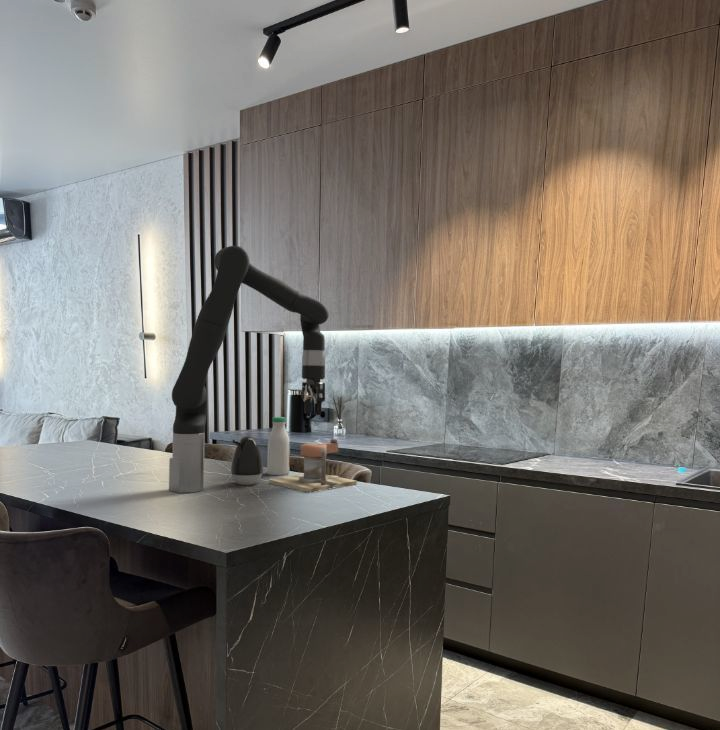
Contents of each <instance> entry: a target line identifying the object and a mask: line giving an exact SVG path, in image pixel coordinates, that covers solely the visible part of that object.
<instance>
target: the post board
mask: <svg viewBox="0 0 720 730" xmlns="http://www.w3.org/2000/svg"><path fill="white" fill-rule="evenodd" d="M326 470H327V455H326V448H322V457H306V456H303V474H299V475H289V476H284V477H277V478H270V479H268V483H269V484H271V485H276V486H279V487H283V488H288V489H291V490H292V489H293V490H297V491H301V492H305V491H306V493H309V492H311V493H315V492H314V491H317V492H320V491H319V490H323V491H325V490H324V489H328V490H330V489H329V488H333V487H340V486H345V487H350V486H349V485H351V486H355V485H354V484H358V480H354V479H350V478H344V477H341V476H338V475H329V474H326V473H327V472H326ZM340 488H341V487H340Z"/></svg>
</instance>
